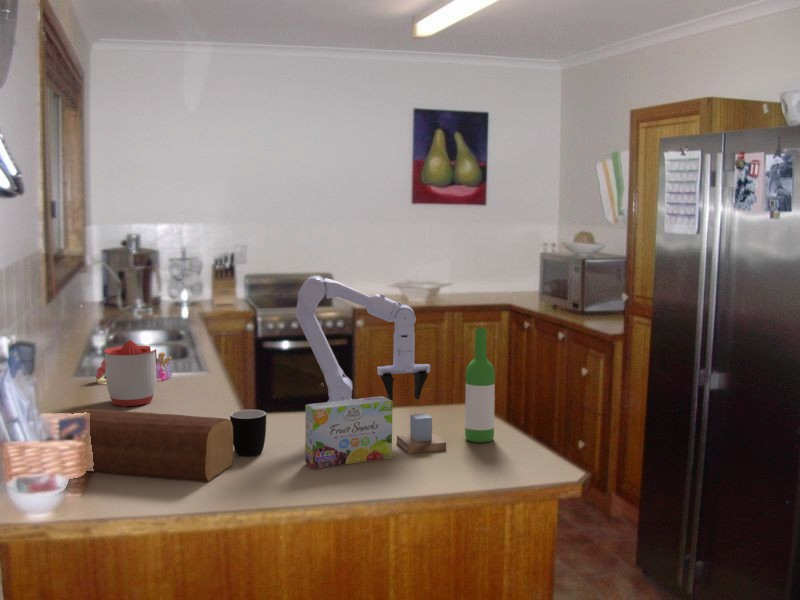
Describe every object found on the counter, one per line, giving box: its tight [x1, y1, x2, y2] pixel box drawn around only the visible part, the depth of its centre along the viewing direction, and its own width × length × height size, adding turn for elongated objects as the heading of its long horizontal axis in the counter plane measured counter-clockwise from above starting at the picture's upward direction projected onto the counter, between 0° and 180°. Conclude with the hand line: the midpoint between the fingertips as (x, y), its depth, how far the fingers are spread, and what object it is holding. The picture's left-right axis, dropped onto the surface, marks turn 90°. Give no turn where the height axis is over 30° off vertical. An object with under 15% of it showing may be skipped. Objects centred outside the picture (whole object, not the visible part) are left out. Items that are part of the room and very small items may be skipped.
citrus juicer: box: [103, 339, 162, 408], centre depth 270 cm, size 16×17×20 cm
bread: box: [69, 408, 234, 483], centre depth 206 cm, size 16×39×13 cm, turn 76°
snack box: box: [304, 395, 394, 470], centre depth 211 cm, size 21×6×15 cm, turn 117°
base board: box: [396, 431, 447, 455], centre depth 224 cm, size 10×10×2 cm
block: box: [409, 413, 433, 442], centre depth 224 cm, size 4×4×6 cm
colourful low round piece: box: [95, 352, 173, 386], centre depth 306 cm, size 25×24×9 cm
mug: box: [229, 409, 267, 457], centre depth 219 cm, size 12×9×10 cm
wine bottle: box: [464, 327, 496, 444], centre depth 229 cm, size 8×8×30 cm
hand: (403, 399), depth 234 cm, fingers open, 7 cm apart
